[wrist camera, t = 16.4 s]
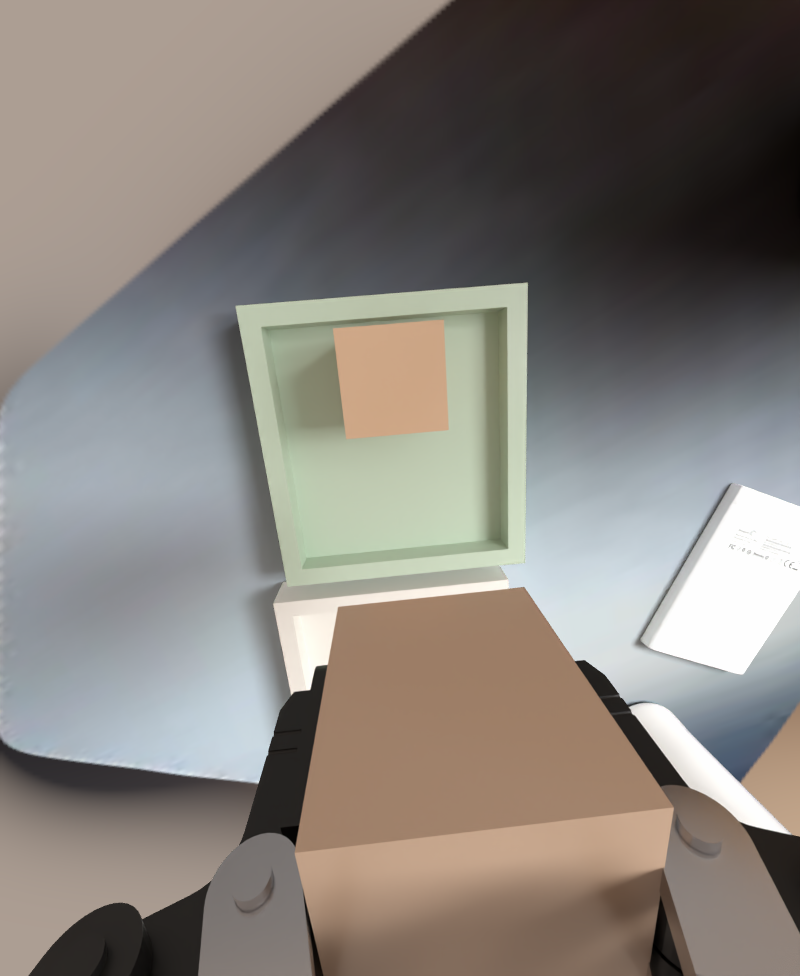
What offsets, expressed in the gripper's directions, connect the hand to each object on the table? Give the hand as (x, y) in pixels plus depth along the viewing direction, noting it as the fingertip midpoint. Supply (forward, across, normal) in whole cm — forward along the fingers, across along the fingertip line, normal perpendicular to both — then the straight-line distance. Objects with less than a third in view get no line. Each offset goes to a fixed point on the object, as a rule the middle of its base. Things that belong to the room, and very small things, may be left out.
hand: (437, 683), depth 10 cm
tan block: (0, 0, 0) cm, 0 cm away
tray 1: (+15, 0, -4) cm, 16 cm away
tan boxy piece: (+14, 0, -7) cm, 16 cm away
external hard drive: (+16, -22, +8) cm, 29 cm away
